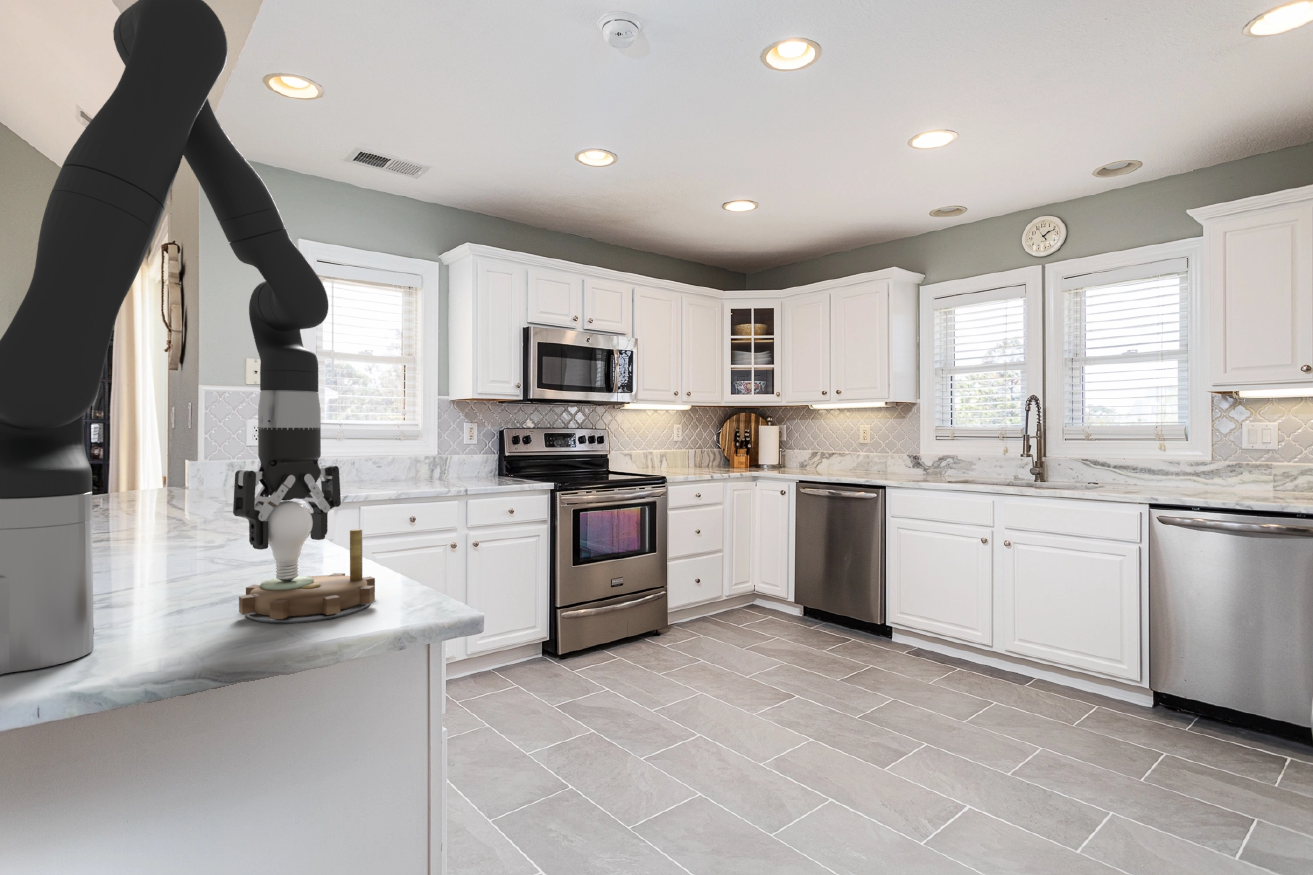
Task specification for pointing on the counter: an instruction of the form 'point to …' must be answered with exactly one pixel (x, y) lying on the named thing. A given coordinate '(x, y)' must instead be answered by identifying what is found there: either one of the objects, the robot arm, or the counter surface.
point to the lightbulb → (288, 536)
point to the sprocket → (312, 591)
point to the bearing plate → (306, 616)
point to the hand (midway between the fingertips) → (290, 543)
